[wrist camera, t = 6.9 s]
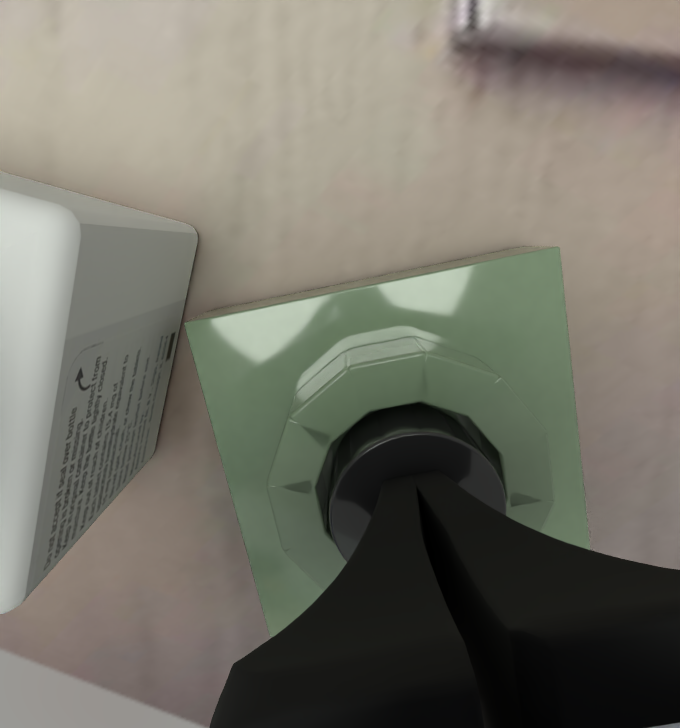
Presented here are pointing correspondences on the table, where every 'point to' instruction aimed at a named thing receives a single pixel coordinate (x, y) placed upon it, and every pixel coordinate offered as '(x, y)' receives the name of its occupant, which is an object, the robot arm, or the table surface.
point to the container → (78, 363)
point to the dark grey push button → (402, 465)
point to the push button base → (389, 399)
